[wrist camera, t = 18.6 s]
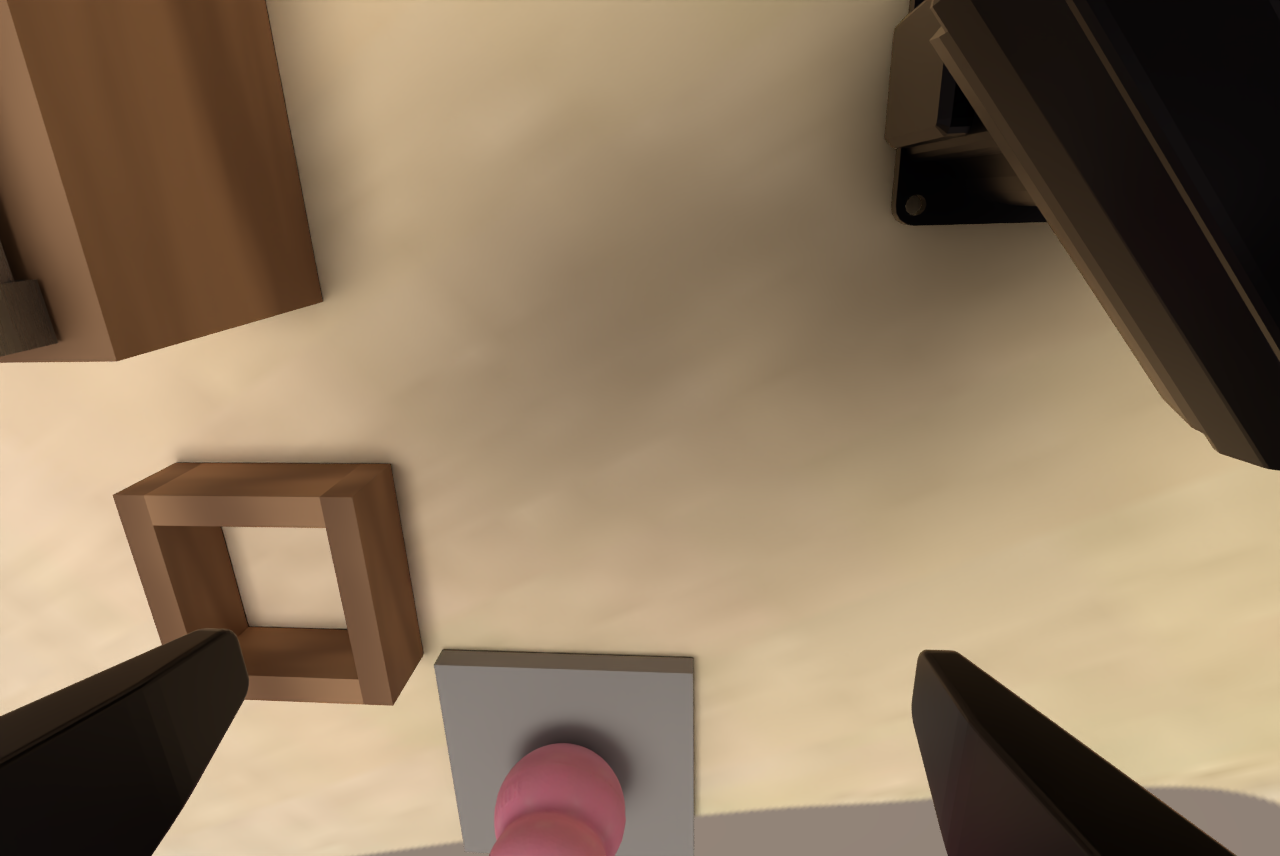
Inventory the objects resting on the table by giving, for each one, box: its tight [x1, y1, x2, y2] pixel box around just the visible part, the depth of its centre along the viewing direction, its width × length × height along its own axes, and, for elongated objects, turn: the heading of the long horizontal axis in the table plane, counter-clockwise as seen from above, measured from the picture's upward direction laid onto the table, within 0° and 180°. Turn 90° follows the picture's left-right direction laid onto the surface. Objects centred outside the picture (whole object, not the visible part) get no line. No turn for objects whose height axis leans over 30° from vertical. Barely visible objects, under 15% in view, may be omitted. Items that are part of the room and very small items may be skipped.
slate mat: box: [434, 650, 694, 856], centre depth 24 cm, size 9×9×1 cm
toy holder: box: [0, 0, 423, 705], centre depth 17 cm, size 8×24×7 cm, turn 2°
